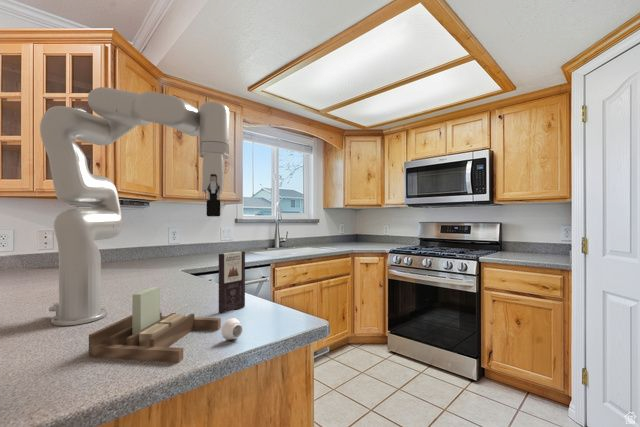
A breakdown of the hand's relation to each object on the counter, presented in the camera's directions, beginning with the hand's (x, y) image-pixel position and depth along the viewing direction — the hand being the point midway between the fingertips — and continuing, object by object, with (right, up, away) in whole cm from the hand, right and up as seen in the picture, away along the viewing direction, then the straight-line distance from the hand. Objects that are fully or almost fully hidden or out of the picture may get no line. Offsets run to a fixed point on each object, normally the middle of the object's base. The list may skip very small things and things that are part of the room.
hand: (213, 216), depth 81 cm
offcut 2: (-8, -30, -5) cm, 31 cm away
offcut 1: (-9, -30, -12) cm, 33 cm away
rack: (-9, -30, -8) cm, 32 cm away
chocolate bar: (0, -30, +16) cm, 34 cm away
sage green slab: (-13, -30, -8) cm, 33 cm away
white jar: (+7, -30, -8) cm, 32 cm away
